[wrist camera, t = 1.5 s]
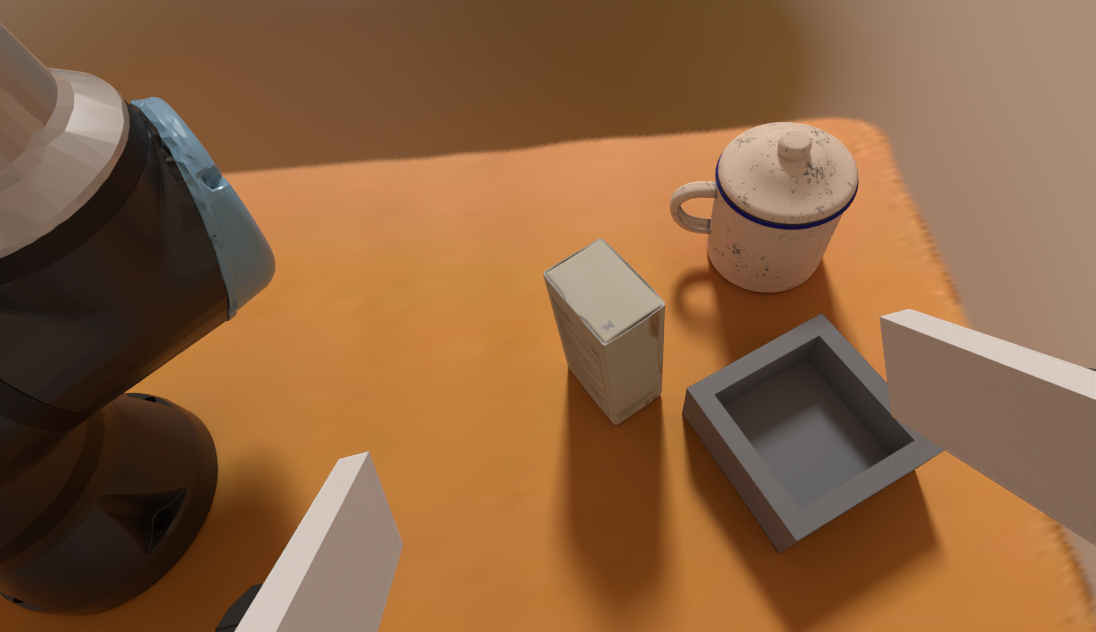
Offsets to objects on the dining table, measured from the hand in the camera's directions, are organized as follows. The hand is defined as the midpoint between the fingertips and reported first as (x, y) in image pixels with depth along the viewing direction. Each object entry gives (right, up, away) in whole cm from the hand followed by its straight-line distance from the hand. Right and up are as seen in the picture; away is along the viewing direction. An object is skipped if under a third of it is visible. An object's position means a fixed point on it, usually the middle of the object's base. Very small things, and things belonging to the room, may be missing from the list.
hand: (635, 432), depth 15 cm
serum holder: (+14, -5, +24) cm, 29 cm away
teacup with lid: (+13, +8, +32) cm, 36 cm away
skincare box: (+2, -2, +28) cm, 29 cm away
